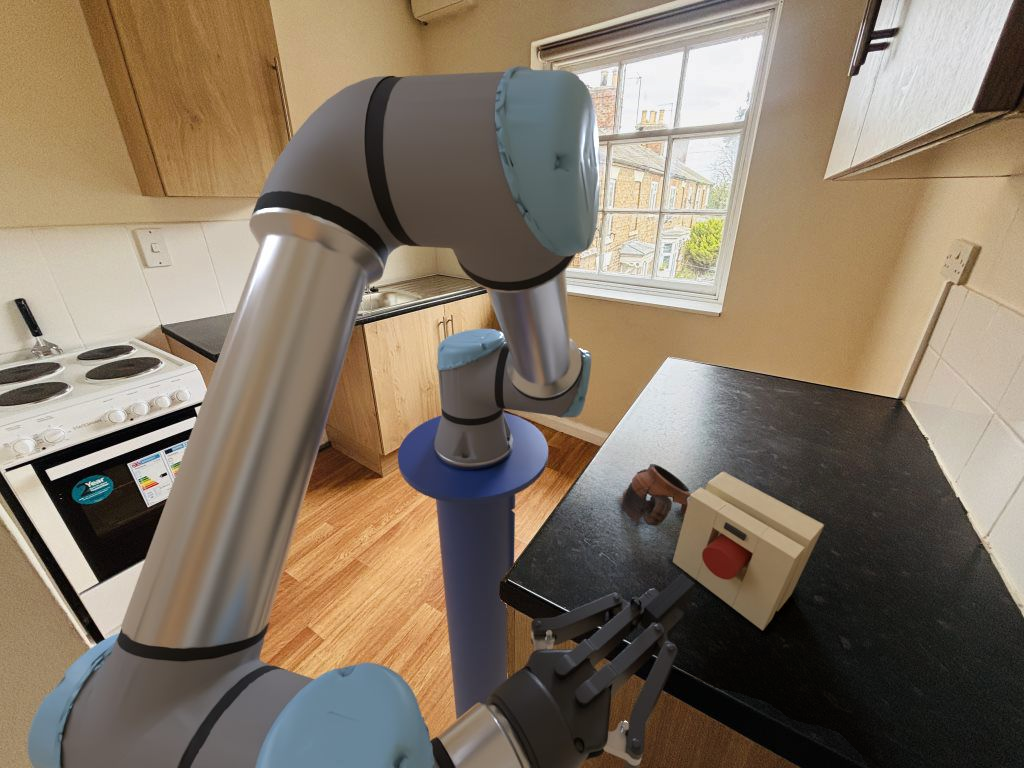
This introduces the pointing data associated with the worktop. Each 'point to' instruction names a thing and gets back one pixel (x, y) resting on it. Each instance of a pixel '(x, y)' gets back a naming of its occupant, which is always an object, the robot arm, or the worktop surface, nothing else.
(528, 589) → the worktop surface
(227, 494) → the robot arm
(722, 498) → the control block
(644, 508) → the pottery mug
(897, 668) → the worktop surface
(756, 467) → the worktop surface
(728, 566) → the button
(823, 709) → the worktop surface
